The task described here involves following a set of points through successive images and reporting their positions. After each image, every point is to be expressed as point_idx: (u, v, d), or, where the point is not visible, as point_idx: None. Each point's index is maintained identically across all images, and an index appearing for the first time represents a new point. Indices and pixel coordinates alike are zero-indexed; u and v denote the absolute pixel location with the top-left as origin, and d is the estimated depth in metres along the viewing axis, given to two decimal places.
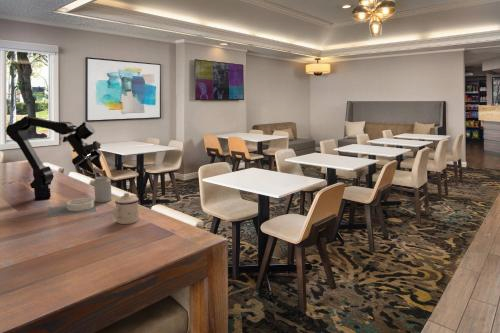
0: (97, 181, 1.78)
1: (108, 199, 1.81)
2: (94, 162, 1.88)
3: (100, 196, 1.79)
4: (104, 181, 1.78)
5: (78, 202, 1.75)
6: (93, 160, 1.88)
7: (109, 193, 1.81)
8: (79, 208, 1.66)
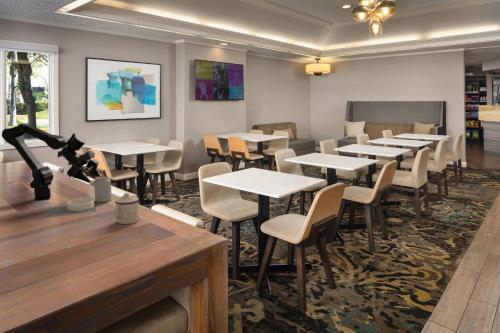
0: (97, 181, 1.78)
1: (108, 199, 1.81)
2: (92, 172, 1.87)
3: (100, 196, 1.79)
4: (104, 181, 1.78)
5: (78, 202, 1.75)
6: (91, 170, 1.87)
7: (109, 193, 1.81)
8: (79, 208, 1.66)
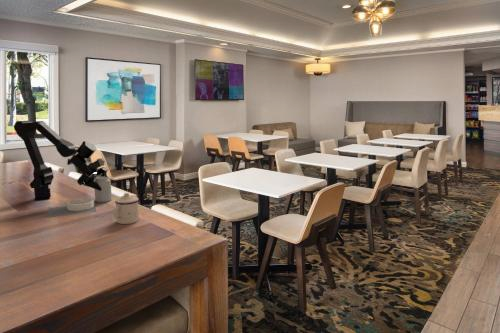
0: (97, 181, 1.78)
1: (108, 199, 1.81)
2: None
3: (100, 196, 1.79)
4: (104, 181, 1.78)
5: (78, 202, 1.75)
6: None
7: (109, 193, 1.81)
8: (79, 208, 1.66)
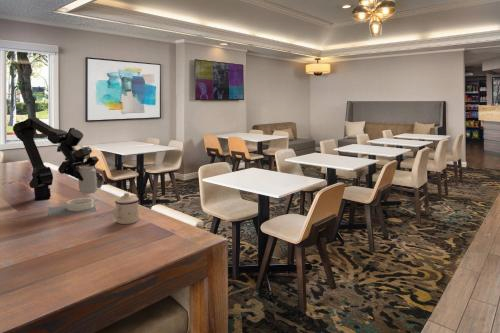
0: (80, 170, 1.69)
1: (91, 190, 1.71)
2: None
3: (82, 187, 1.70)
4: (86, 171, 1.68)
5: (78, 202, 1.75)
6: None
7: (92, 184, 1.71)
8: (79, 208, 1.66)
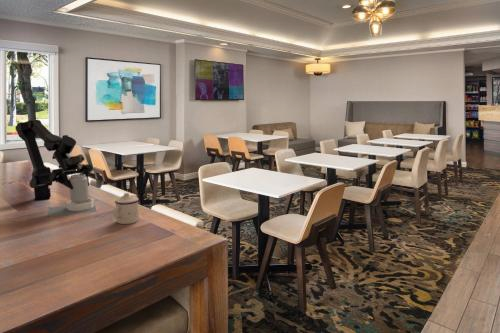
0: (70, 179, 1.66)
1: (81, 199, 1.67)
2: None
3: (72, 196, 1.67)
4: (76, 180, 1.65)
5: None
6: None
7: (82, 193, 1.67)
8: (79, 208, 1.66)
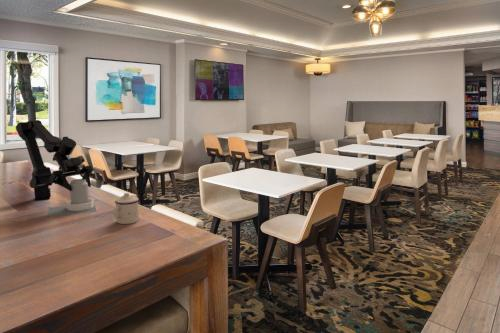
0: (70, 184, 1.67)
1: None
2: None
3: (73, 201, 1.67)
4: (76, 185, 1.66)
5: None
6: (83, 177, 1.75)
7: (83, 198, 1.68)
8: (79, 208, 1.66)
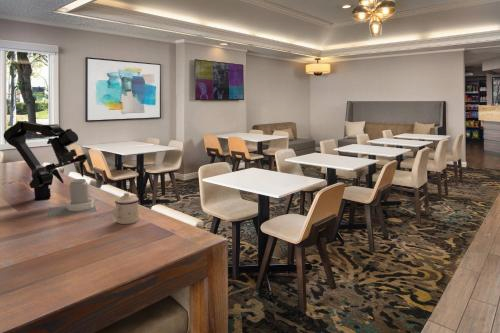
0: (70, 184, 1.67)
1: None
2: (78, 167, 1.84)
3: (73, 201, 1.67)
4: (76, 185, 1.66)
5: None
6: (78, 165, 1.83)
7: (83, 198, 1.68)
8: (79, 208, 1.66)
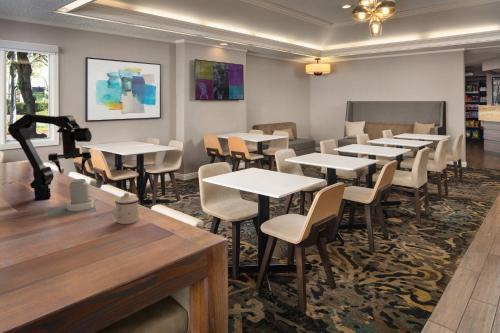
0: (70, 184, 1.67)
1: None
2: (81, 162, 1.87)
3: (73, 201, 1.67)
4: (76, 185, 1.66)
5: None
6: None
7: (83, 198, 1.68)
8: (79, 208, 1.66)
